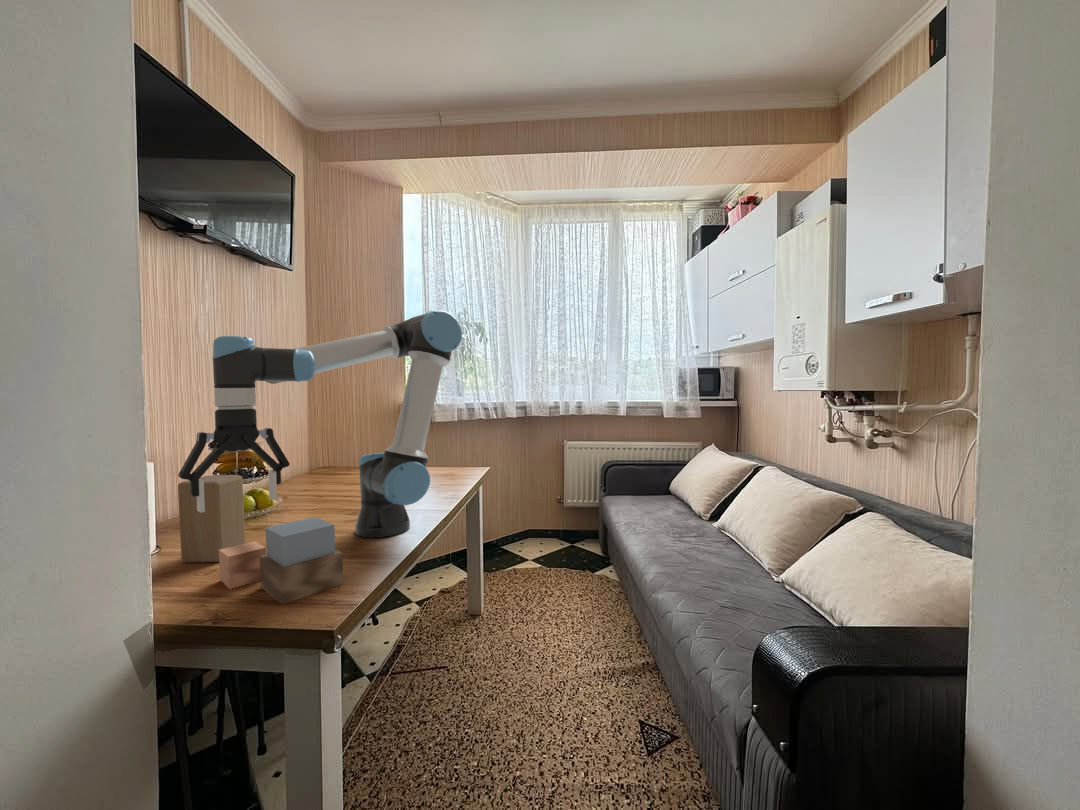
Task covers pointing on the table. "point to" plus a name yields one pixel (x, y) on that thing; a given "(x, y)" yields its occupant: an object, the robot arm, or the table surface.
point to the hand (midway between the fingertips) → (238, 505)
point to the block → (211, 518)
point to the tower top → (300, 541)
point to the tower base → (301, 576)
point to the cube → (240, 564)
